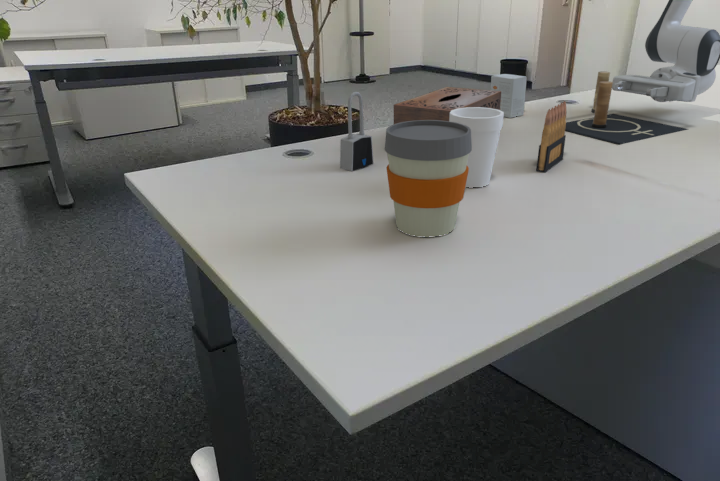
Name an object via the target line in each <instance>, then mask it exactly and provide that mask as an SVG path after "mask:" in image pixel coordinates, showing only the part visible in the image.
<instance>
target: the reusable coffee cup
mask: <svg viewBox="0 0 720 481" xmlns="http://www.w3.org/2000/svg"><path fill="white" fill-rule="evenodd" d="M471 151H472V143H471V129H470V128H469V127H468V126H466V125H463V124H460V123H456V122H450V121H440V120H416V121H406V122H401V123H397V124H394V123H393V124H391V125H389V126H388V127H387V128H386V130H385V138H384V152H386V154H387V162H388V164H387V165H386V175H387V183H388V190H389V198H390V199H391V200H392V201H393V207H394V216H395V223H396V228H397V227H398V228H397V230H398V229H399V230H401V231H403V232H404V233H407V234H410V235H415V236H425V237H429V236H439V235H444V234H447V233H449V232H451V231H452V230H453V229H454V228H455V229H456V223H457V218H458V213H459V207H460V202H462V201H463V199H464V196H465V191H466V187H465V186H466V181H467V176H468V171H469V168H468V166H467V161H468V155H469V153H470V152H471ZM455 229H454V230H455ZM399 230H398V231H399ZM454 230H453V231H454ZM453 231H452V232H453ZM452 232H451V233H452ZM404 233H403V234H404ZM449 234H450V233H449ZM447 235H448V234H447ZM444 236H445V235H444Z"/></svg>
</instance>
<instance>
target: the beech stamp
mask: <svg viewBox="0 0 720 481" xmlns="http://www.w3.org/2000/svg"><path fill="white" fill-rule="evenodd" d="M612 84H613V81H610V80H609V81H601V82H599V87H598V94H597V100H596V107H595V113H594V114H593V117H594V120H593V123H592V127H594V128H606V126H607V124H606V120H607V115H609V108H610V101H611V96H612V90H613V89H612Z"/></svg>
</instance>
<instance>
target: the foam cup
mask: <svg viewBox="0 0 720 481" xmlns="http://www.w3.org/2000/svg"><path fill="white" fill-rule="evenodd" d="M504 118H505V117H504V112H502V111H500V110H497V109H492V108H483V107H466V108H458V109H454V110H451V112H450V115H449V121H450V122H456V123H460V124H463V125H466V126H468V127H469V128H470V129H471V143H472V151H471V152H470V153H469V155H468V161H467V166H468V168H469V171H468V176H467V181H466V186H465V188H466V187H469V188H468V189H474V188H473V187H482V188H484V187H483V186H486V185H488V184H489V185H490V181H491V178H492V171H493V167H494V163H495V158H496V154H497V149H498V145H499V140H500V134H501V130H502V129H503V127H504ZM489 185H488V186H489ZM486 187H487V186H486Z"/></svg>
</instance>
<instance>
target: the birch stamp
mask: <svg viewBox="0 0 720 481" xmlns="http://www.w3.org/2000/svg"><path fill="white" fill-rule="evenodd" d="M610 77H611V72H610V71H607V70H606V71H605V70H604V71H598V72H597V78H596V84H595V91H594V98H593V104H592V107H591V113H595V107H596V100H597V94H598V87H599V82H601V81H609V82H610Z"/></svg>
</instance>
